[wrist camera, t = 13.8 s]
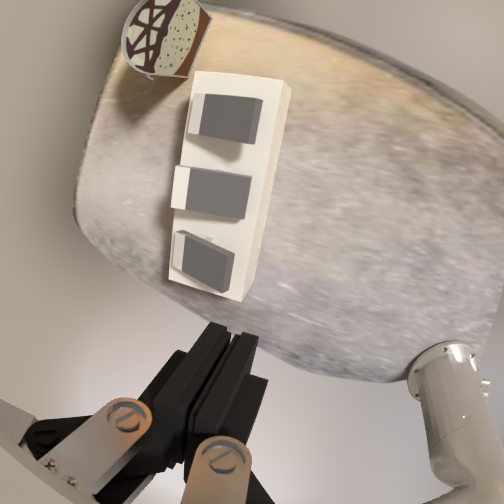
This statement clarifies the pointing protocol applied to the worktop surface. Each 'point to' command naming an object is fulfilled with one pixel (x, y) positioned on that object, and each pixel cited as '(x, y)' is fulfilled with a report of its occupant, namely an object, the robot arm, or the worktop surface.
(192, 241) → the switch
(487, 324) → the worktop surface
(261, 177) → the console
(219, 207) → the switch
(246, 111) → the switch
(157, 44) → the food container
